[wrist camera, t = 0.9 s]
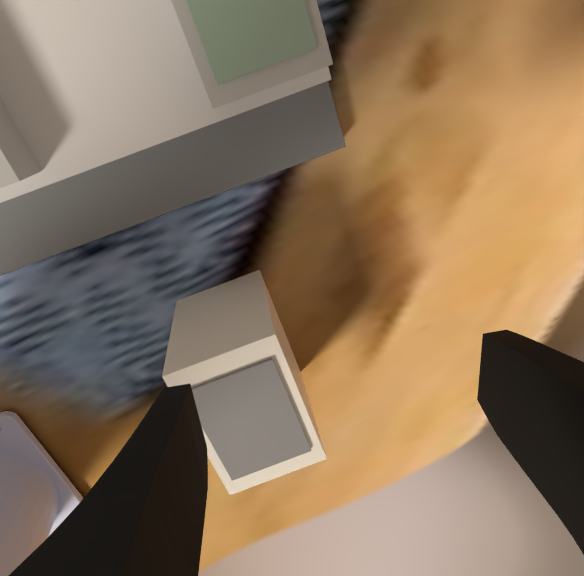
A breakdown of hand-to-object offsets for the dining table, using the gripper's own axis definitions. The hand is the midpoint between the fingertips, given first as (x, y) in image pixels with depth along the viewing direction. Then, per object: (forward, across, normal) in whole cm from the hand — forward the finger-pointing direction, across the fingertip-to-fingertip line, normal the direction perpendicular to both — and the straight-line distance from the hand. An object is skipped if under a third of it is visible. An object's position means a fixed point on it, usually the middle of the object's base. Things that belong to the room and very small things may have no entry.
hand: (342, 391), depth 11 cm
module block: (+10, +3, +4) cm, 11 cm away
